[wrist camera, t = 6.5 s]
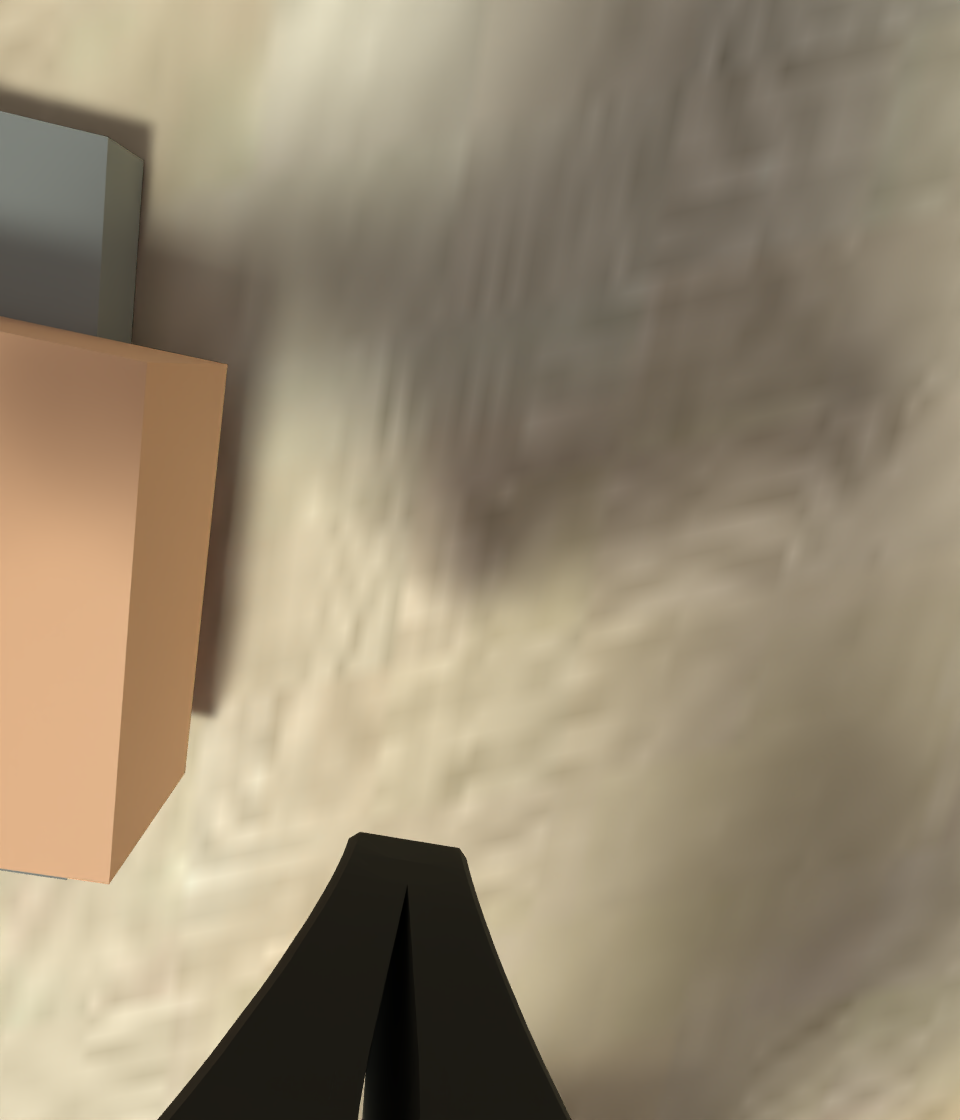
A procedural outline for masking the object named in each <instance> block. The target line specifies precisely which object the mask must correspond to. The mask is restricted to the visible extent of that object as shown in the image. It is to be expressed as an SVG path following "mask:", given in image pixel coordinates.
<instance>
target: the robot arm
mask: <svg viewBox="0 0 960 1120" xmlns="http://www.w3.org/2000/svg"><path fill="white" fill-rule="evenodd" d="M365 1072H366V1073H365ZM364 1078H365V1088H364V1103H363V1118H362V1120H571V1118H570V1116H569V1114H568V1112H567V1110H566V1108H565V1106H564V1104H563V1101H562V1099H561V1097H560V1095H559V1093H558V1091H557V1089H556V1087H555V1085H554V1083H553V1081H552V1079H551V1077H550V1075H549V1072H548V1070H547V1068H546V1066H545V1064H544V1062H543V1060H542V1058H541V1055H540V1053H539V1051H538V1049H537V1047H536V1044H535V1042H534V1040H533V1038H532V1036H531V1033H530V1031H529V1029H528V1027H527V1024H526V1022H525V1020H524V1017H523V1015H522V1012H521V1010H520V1008H519V1005H518V1003H517V1000H516V998H515V996H514V993H513V991H512V989H511V986H510V984H509V981H508V979H507V977H506V974H505V972H504V969H503V967H502V964H501V962H500V959H499V957H498V954H497V951H496V949H495V946H494V944H493V941H492V938H491V935H490V932H489V930H488V927H487V924H486V921H485V919H484V916H483V913H482V910H481V907H480V904H479V901H478V898H477V895H476V892H475V888H474V885H473V882H472V878H471V875H470V871H469V868H468V864H467V860H466V857H465V856H464V854H463V853H462V851H461V850H460V848H455V847H449V846H443V845H437V844H431V843H424V842H418V841H412V840H406V839H400V838H394V837H388V836H381V835H375V834H369V833H363V832H359V833H357V834H356V835H354V836H352V837H351V838H349V840H348V843H347V845H346V848H345V851H344V853H343V856H342V858H341V860H340V862H339V864H338V866H337V868H336V870H335V872H334V874H333V876H332V878H331V880H330V882H329V883H328V885H327V887H326V889H325V891H324V892H323V894H322V896H321V897H320V899H319V901H318V902H317V904H316V906H315V907H314V909H313V911H312V912H311V914H310V916H309V917H308V919H307V921H306V922H305V924H304V925H303V927H302V928H301V930H300V931H299V933H298V934H297V936H296V937H295V939H294V940H293V942H292V943H291V945H290V946H289V948H288V949H287V951H286V952H285V954H284V955H283V957H282V958H281V960H280V961H279V963H278V964H277V966H276V967H275V969H274V970H273V972H272V973H271V974H270V976H269V977H268V979H267V980H266V982H265V983H264V984H263V986H262V987H261V988H260V990H259V991H258V992H257V994H256V995H255V996H254V998H253V999H252V1000H251V1002H250V1003H249V1004H248V1006H247V1007H246V1008H245V1010H244V1011H243V1012H242V1014H241V1015H240V1016H239V1018H238V1019H237V1020H236V1022H235V1023H234V1024H233V1026H232V1027H231V1028H230V1030H229V1031H228V1032H227V1034H226V1035H225V1036H224V1038H223V1039H222V1040H221V1042H220V1043H219V1044H218V1046H217V1047H216V1048H215V1049H214V1051H213V1052H212V1053H211V1055H210V1056H209V1057H208V1059H207V1060H206V1061H205V1062H204V1064H203V1065H202V1066H201V1067H200V1069H199V1070H198V1071H197V1072H196V1074H195V1075H194V1076H193V1077H192V1078H191V1080H190V1081H189V1082H188V1083H187V1085H186V1086H185V1087H184V1088H183V1090H182V1091H181V1092H180V1093H179V1095H178V1096H177V1097H176V1098H175V1099H174V1101H173V1102H172V1103H171V1104H170V1105H169V1107H168V1108H167V1109H166V1110H165V1111H164V1113H163V1114H162V1115H161V1116H160V1117H159V1119H158V1120H358V1114H359V1106H360V1100H361V1094H362V1089H363V1083H364Z"/></svg>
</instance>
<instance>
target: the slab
mask: <svg viewBox="0 0 960 1120" xmlns="http://www.w3.org/2000/svg"><path fill="white" fill-rule="evenodd" d="M227 365H228V364H223V363H218V362H213V361H209V360H204V359H199V358H195V357H190V356H185V355H181V354H176V353H171V352H166V351H162V350H157V349H152V348H148V347H143V346H138V345H134V344H129V343H124V342H119V341H115V340H110V339H105V338H101V337H96V336H91V335H87V334H82V333H77V332H72V331H68V330H63V329H58V328H54V327H49V326H44V325H40V324H35V323H30V322H25V321H21V320H16V319H11V318H7V317H2V316H0V869H7V870H14V871H21V872H28V873H35V874H42V875H49V876H55V877H62V878H69V879H76V880H83V881H90V882H97V883H104V884H110V882H111V881H112V879H113V878H114V876H115V875H116V873H117V872H118V870H119V869H120V867H121V866H122V864H123V863H124V862H125V860H126V859H127V857H128V856H129V854H130V853H131V851H132V850H133V848H134V847H135V845H136V844H137V842H138V841H139V840H140V838H141V837H142V835H143V834H144V832H145V831H146V829H147V828H148V826H149V825H150V823H151V822H152V820H153V819H154V818H155V816H156V815H157V813H158V812H159V810H160V809H161V807H162V806H163V804H164V803H165V801H166V800H167V798H168V797H169V796H170V794H171V793H172V791H173V790H174V788H175V787H176V785H177V784H178V782H179V781H180V779H181V778H182V776H183V775H184V773H185V768H186V758H187V749H188V739H189V729H190V720H191V710H192V701H193V691H194V682H195V672H196V662H197V653H198V643H199V634H200V624H201V615H202V605H203V595H204V586H205V576H206V567H207V557H208V547H209V538H210V528H211V519H212V509H213V500H214V490H215V480H216V471H217V461H218V452H219V442H220V432H221V423H222V413H223V404H224V394H225V385H226V375H227Z"/></svg>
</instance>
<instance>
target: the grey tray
mask: <svg viewBox="0 0 960 1120" xmlns="http://www.w3.org/2000/svg"><path fill="white" fill-rule="evenodd" d="M143 164H144V161H143V160H142V159H140V158H139V157H137V156H136V155H134V154H133V153H131V152H130V151H128V150H127V149H125V148H124V147H122V146H121V145H119V144H118V143H116V142H115V141H113V140H112V139H110V138H109V137H106V136H102V135H98V134H94V133H89V132H85V131H81V130H77V129H73V128H69V127H65V126H60V125H56V124H52V123H48V122H44V121H40V120H36V119H31V118H27V117H23V116H19V115H15V114H11V113H6V112H2V111H0V316H2V317H7V318H11V319H16V320H21V321H25V322H30V323H35V324H40V325H44V326H49V327H54V328H58V329H63V330H68V331H72V332H77V333H82V334H87V335H91V336H96V337H101V338H105V339H110V340H115V341H119V342H124V343H129V344H131V337H132V323H133V308H134V294H135V279H136V265H137V251H138V236H139V222H140V207H141V193H142V178H143ZM0 870H2V871H9V872H16V873H23V874H29V875H36V876H43V877H50V878H57V879H64V880H67V879H68V878H62V877H55V876H49V875H42V874H35V873H28V872H21V871H14V870H7V869H0Z"/></svg>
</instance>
